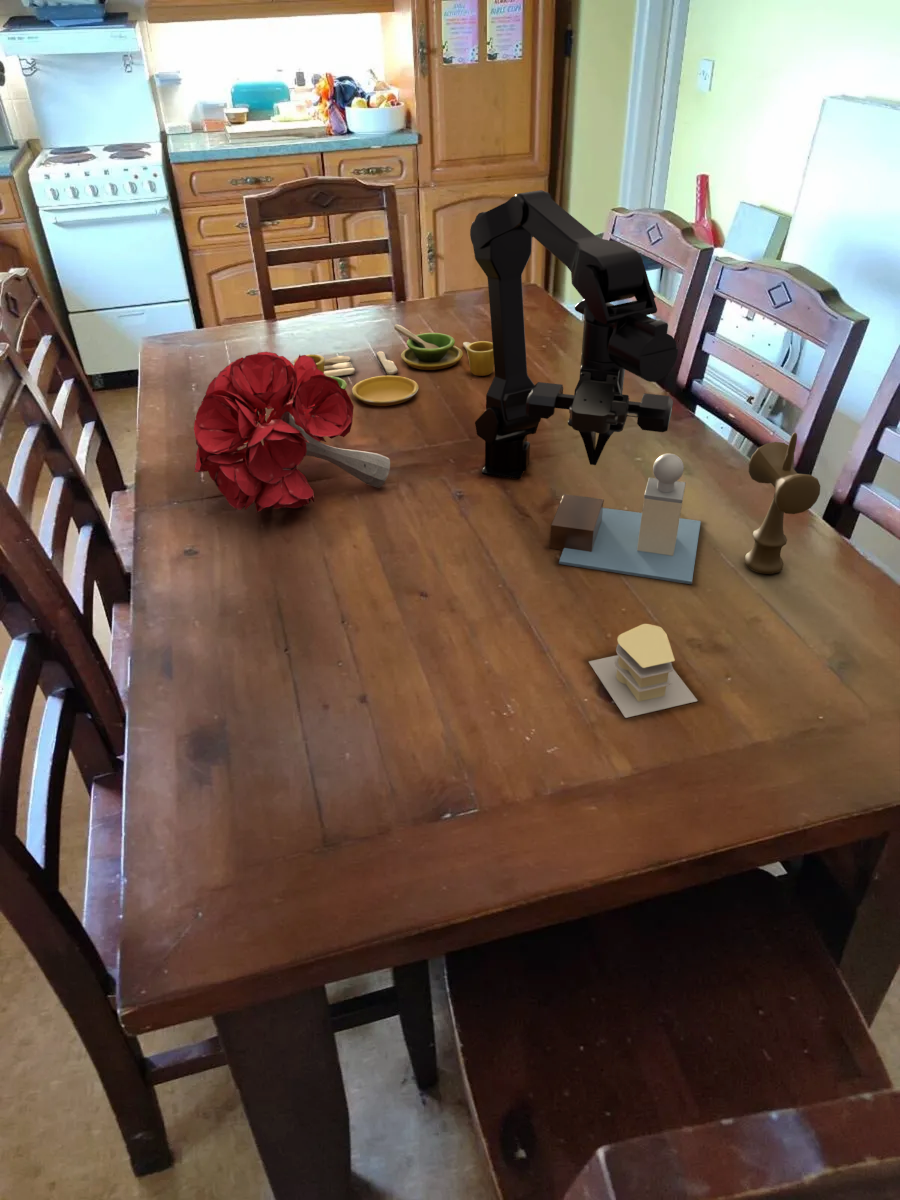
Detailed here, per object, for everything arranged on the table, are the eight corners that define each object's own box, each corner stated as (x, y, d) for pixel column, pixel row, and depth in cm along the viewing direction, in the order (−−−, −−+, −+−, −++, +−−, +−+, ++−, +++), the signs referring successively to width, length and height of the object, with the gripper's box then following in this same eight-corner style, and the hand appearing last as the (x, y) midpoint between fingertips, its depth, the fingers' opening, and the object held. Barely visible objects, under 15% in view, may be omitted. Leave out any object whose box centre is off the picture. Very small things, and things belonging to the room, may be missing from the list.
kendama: (770, 545, 122) (802, 414, 110) (798, 585, 114) (836, 448, 102) (729, 548, 121) (756, 417, 109) (754, 588, 113) (787, 451, 101)
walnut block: (549, 548, 122) (550, 524, 120) (561, 516, 129) (563, 493, 126) (591, 554, 121) (593, 530, 118) (601, 522, 127) (604, 499, 125)
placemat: (558, 564, 119) (559, 561, 119) (579, 507, 131) (579, 504, 131) (691, 584, 114) (692, 581, 114) (700, 523, 127) (700, 520, 126)
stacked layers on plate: (697, 701, 97) (705, 664, 93) (625, 718, 95) (630, 681, 91) (656, 647, 104) (662, 611, 101) (588, 661, 102) (591, 625, 99)
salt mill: (603, 485, 116) (674, 459, 111) (609, 468, 120) (678, 442, 114) (644, 564, 121) (714, 543, 116) (648, 545, 125) (716, 524, 120)
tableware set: (474, 344, 187) (474, 315, 183) (512, 394, 166) (513, 362, 162) (285, 364, 180) (281, 335, 176) (299, 419, 158) (294, 387, 154)
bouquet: (343, 490, 150) (172, 432, 136) (405, 374, 139) (225, 298, 125) (362, 565, 134) (170, 508, 120) (433, 441, 123) (230, 362, 109)
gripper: (517, 370, 105) (514, 482, 115) (671, 387, 101) (654, 501, 110) (537, 339, 114) (532, 445, 123) (680, 352, 109) (664, 462, 119)
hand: (593, 463), depth 119 cm, fingers closed
